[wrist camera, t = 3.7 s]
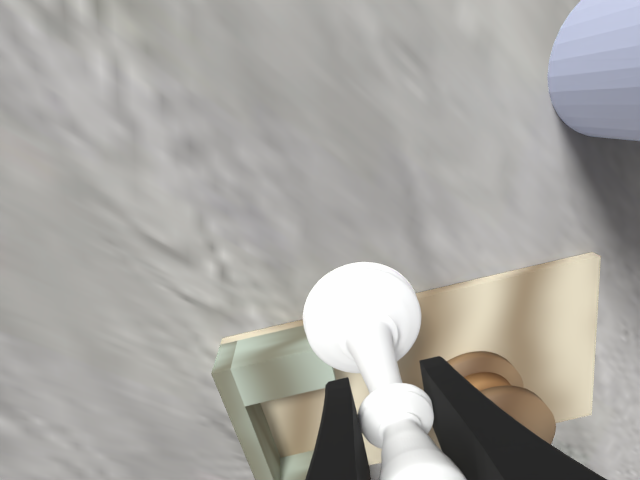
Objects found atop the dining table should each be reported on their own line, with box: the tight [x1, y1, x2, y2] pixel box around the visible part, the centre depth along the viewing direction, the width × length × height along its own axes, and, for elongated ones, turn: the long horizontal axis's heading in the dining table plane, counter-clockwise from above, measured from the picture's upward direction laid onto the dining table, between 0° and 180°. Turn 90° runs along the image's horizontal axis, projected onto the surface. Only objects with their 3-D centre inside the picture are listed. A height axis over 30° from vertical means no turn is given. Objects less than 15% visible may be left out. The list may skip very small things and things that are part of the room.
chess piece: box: [303, 262, 467, 480], centre depth 11 cm, size 5×5×10 cm
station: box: [211, 252, 601, 480], centre depth 21 cm, size 22×12×4 cm, turn 103°
